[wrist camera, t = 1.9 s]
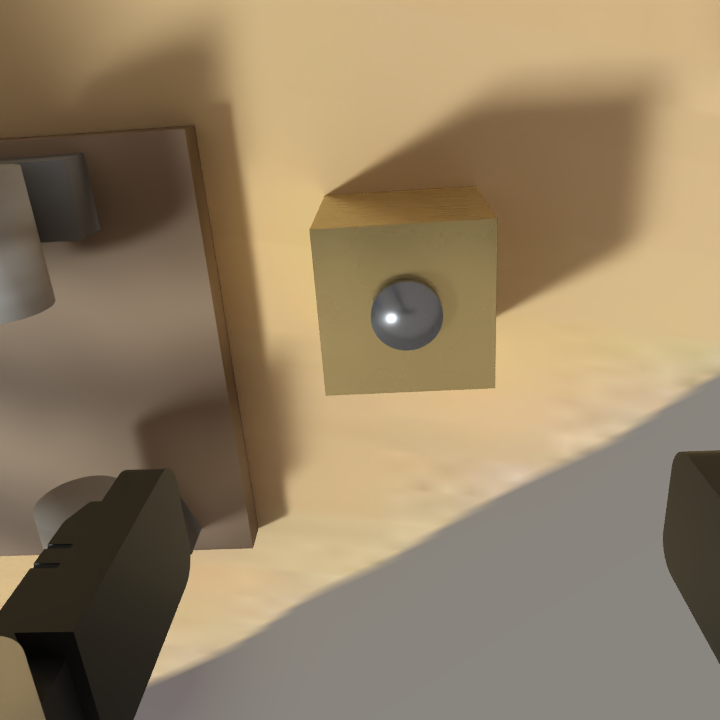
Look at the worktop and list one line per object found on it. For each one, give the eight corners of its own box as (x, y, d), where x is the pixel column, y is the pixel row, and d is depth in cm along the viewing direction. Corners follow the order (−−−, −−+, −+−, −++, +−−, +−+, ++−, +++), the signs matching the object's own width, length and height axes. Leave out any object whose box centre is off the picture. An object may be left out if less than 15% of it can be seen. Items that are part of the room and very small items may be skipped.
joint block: (324, 195, 23) (308, 233, 18) (475, 185, 23) (499, 222, 18) (336, 333, 25) (324, 401, 20) (475, 326, 25) (496, 393, 20)
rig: (-131, 148, 23) (-284, 175, 18) (194, 125, 22) (134, 146, 17) (6, 546, 29) (-76, 652, 24) (259, 538, 29) (231, 645, 24)
